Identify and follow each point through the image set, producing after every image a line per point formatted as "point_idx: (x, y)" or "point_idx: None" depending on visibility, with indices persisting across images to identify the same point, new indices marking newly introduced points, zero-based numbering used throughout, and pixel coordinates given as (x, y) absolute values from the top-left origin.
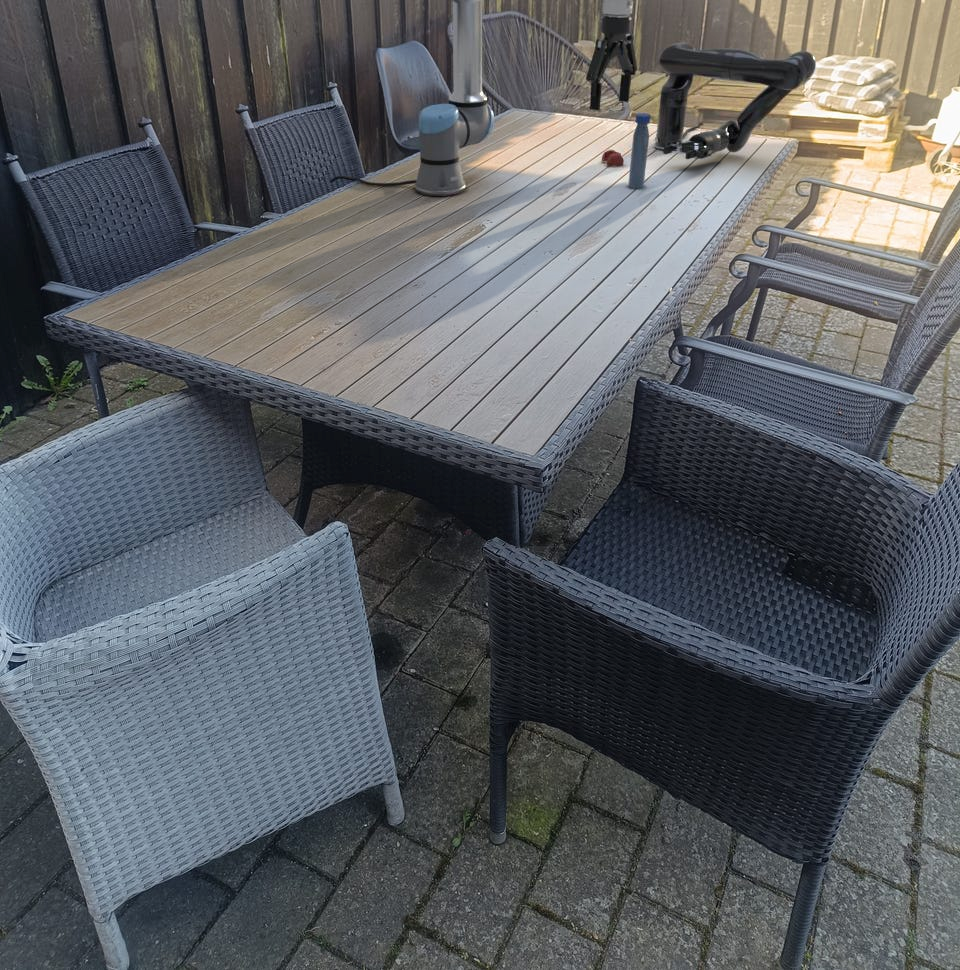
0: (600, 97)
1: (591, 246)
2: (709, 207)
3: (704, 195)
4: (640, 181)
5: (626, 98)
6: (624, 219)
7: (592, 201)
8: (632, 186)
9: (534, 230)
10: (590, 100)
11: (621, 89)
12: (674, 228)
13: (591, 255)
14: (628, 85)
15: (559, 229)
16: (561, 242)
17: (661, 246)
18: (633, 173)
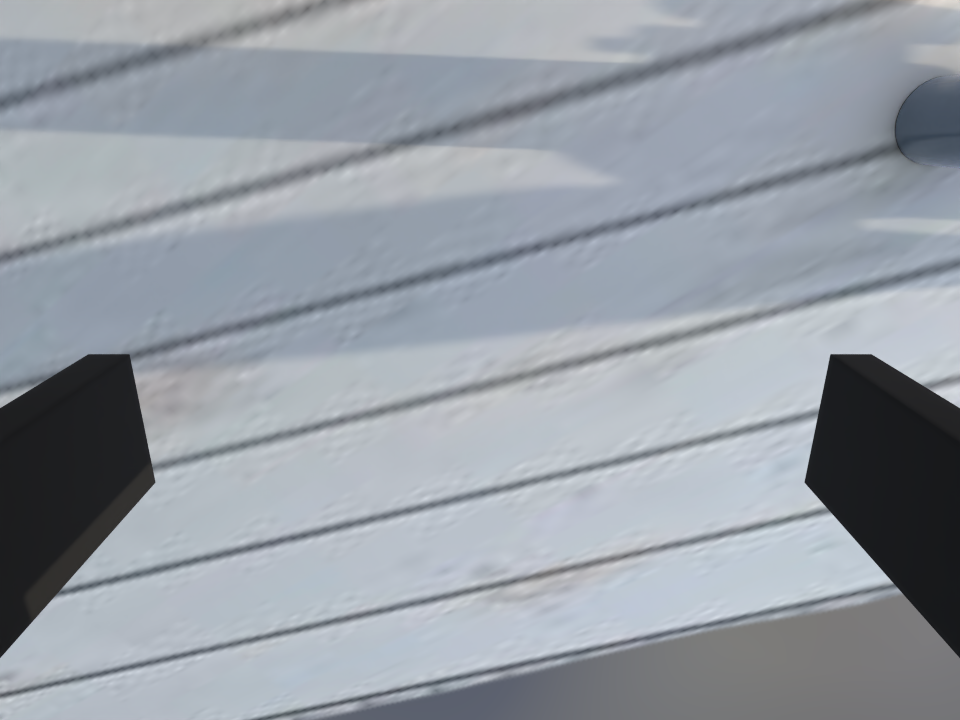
0: (54, 587)
1: None
2: (801, 527)
3: None
4: (935, 162)
5: (830, 492)
6: (443, 365)
7: (568, 94)
8: (901, 126)
9: (24, 154)
10: (10, 405)
11: (924, 458)
12: (485, 550)
13: None
14: (944, 639)
15: (128, 234)
16: (27, 337)
17: (294, 604)
18: (948, 125)
